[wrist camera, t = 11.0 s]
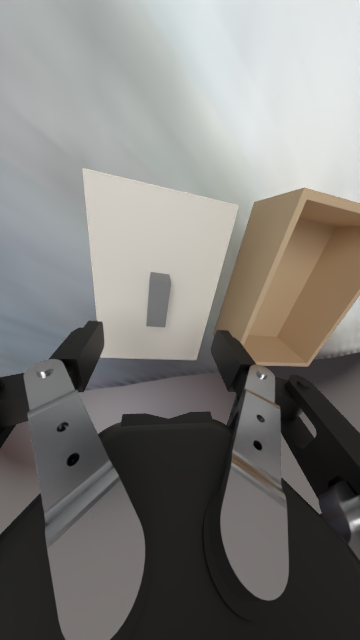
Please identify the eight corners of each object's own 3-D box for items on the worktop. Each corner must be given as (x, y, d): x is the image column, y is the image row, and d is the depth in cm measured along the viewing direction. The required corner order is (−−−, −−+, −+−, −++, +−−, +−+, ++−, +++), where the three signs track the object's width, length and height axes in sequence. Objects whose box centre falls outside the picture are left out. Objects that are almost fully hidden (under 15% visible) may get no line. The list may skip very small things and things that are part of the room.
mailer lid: (225, 209, 18) (256, 199, 12) (192, 346, 27) (201, 375, 22) (96, 179, 15) (63, 151, 10) (107, 342, 24) (93, 374, 19)
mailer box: (337, 222, 20) (415, 219, 14) (276, 337, 29) (308, 366, 23) (254, 202, 18) (304, 187, 12) (213, 334, 26) (231, 364, 20)
